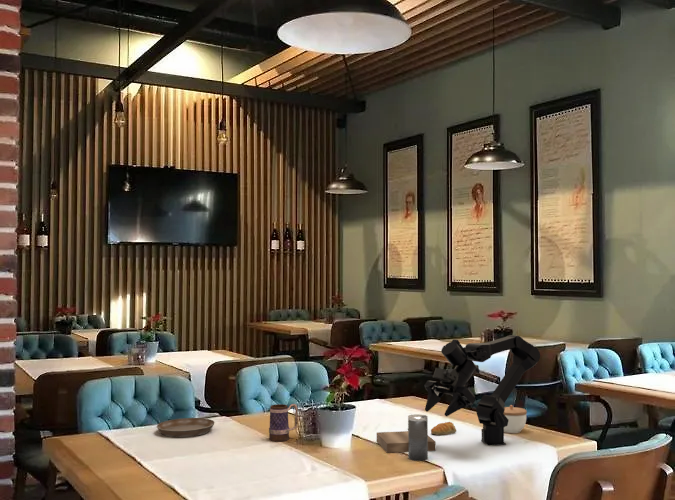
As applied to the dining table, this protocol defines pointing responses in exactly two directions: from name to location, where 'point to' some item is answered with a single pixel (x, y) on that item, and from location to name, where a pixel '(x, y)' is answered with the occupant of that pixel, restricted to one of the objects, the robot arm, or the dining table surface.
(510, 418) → the lidded jar
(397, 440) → the block
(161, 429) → the plant saucer
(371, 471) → the dining table surface
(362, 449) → the dining table surface
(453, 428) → the pastry
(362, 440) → the dining table surface
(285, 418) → the mug
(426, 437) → the canister
